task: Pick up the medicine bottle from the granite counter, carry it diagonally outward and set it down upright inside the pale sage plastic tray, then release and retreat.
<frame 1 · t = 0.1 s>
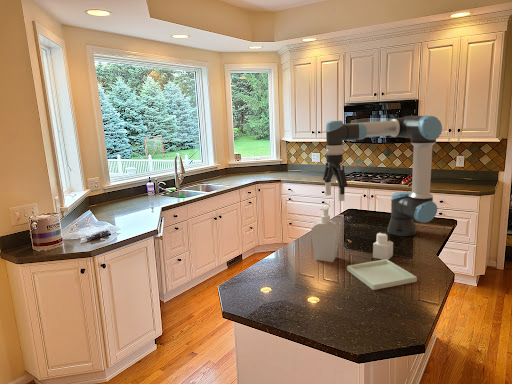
hand: (334, 198, 174), 28 cm above the counter, fingers open, 13 cm apart
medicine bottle: (382, 257, 172), on the counter
soap bottle: (326, 258, 174), on the counter
tray: (380, 275, 152), on the counter
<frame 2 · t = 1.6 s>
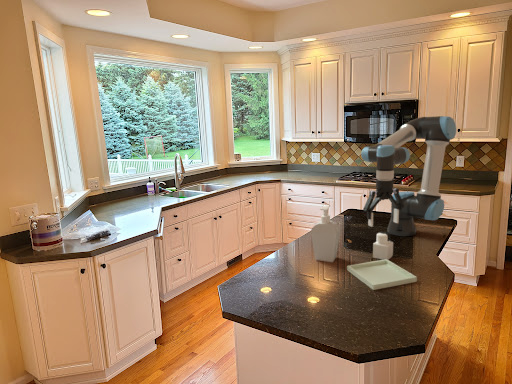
hand: (383, 224, 168), 16 cm above the counter, fingers open, 13 cm apart
nothing on the counter moved.
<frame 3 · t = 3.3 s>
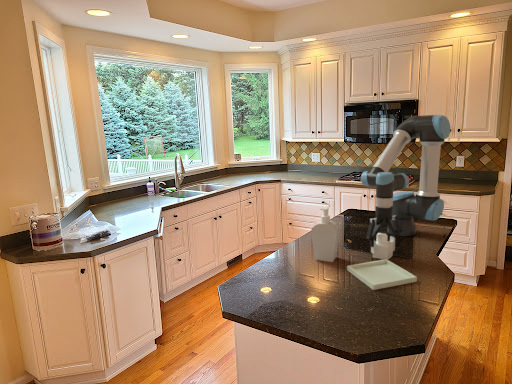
hand: (382, 251, 171), 3 cm above the counter, fingers closed on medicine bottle, 10 cm apart
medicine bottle: (382, 257, 172), on the counter, touching gripper
everything else where it was.
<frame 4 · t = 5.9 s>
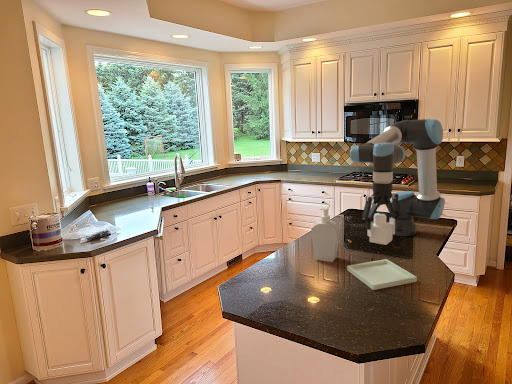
hand: (381, 235, 149), 18 cm above the counter, fingers closed on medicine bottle, 10 cm apart
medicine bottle: (380, 241, 149), point 15 cm above the counter, touching gripper
everything else where it was.
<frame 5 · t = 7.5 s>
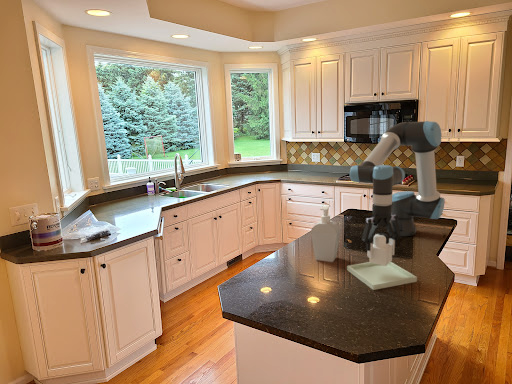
hand: (380, 255, 150), 9 cm above the counter, fingers closed on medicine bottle, 10 cm apart
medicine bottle: (380, 262, 151), point 6 cm above the counter, touching gripper
everything else where it was.
when the fingers open (5 cm above the counter, at t = 8.9 s): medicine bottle drops 1 cm, resting on tray.
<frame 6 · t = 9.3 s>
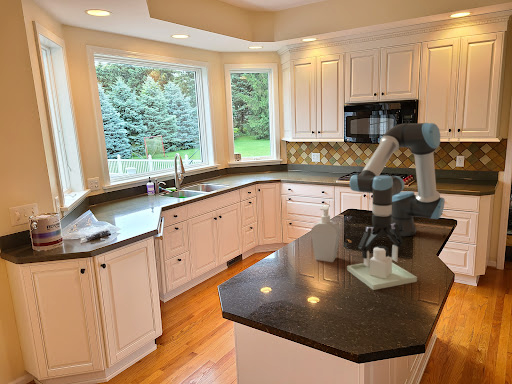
hand: (380, 262, 151), 6 cm above the counter, fingers open, 13 cm apart
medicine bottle: (380, 274, 152), resting on tray
everything else where it was.
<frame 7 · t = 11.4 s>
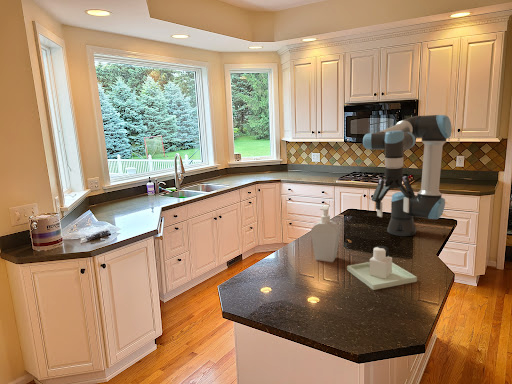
hand: (393, 214, 160), 23 cm above the counter, fingers open, 13 cm apart
nothing on the counter moved.
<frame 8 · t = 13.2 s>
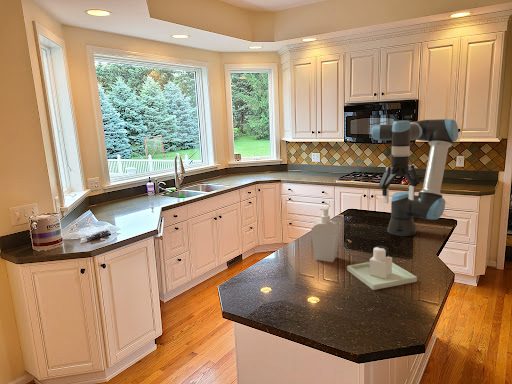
hand: (398, 201, 167), 27 cm above the counter, fingers open, 13 cm apart
nothing on the counter moved.
at the end: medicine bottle inside the target area on the tray (0.1 cm from its centre), point 0.4 cm above the tray's base; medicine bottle tilted 0°; the gripper is holding nothing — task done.
